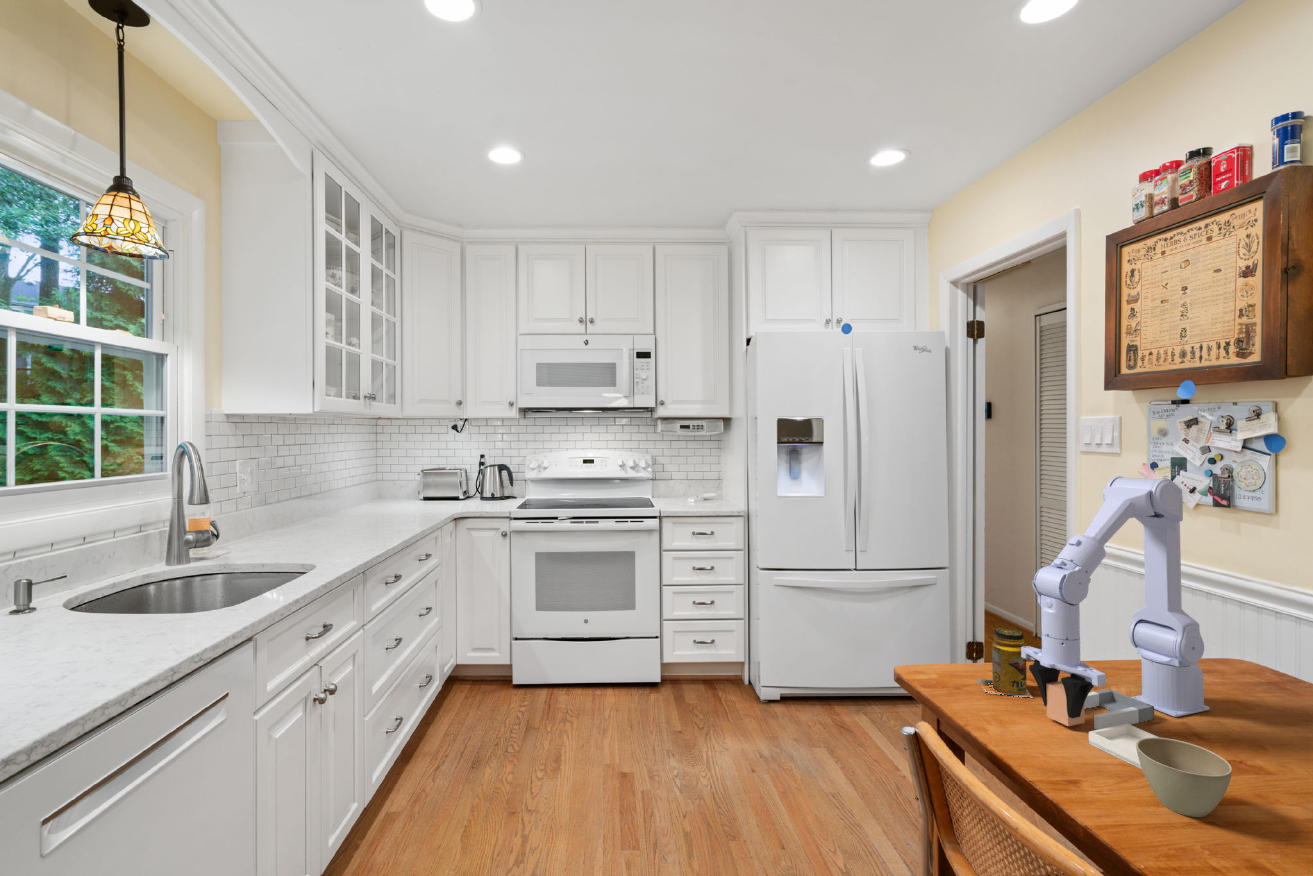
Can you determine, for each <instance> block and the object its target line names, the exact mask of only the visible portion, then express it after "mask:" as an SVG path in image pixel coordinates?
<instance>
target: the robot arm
mask: <svg viewBox="0 0 1313 876" xmlns="http://www.w3.org/2000/svg"><path fill="white" fill-rule="evenodd" d="M1102 498H1103V503H1102V504H1101V506H1100V508H1099V509H1098V511H1097V512H1096V514H1095V516H1093V519H1092V521H1091V522H1090V523H1089V525H1088V527H1087V529H1086V531H1084V533H1083V535H1074V536H1072V537H1071V538H1070V539H1069V540H1068V541H1067V544H1066V545H1065V546H1064V547H1063V549H1062V550H1061V551H1060V553H1059V554H1058V555H1057V556H1056V557H1055V558H1054V560H1053V561H1052V563H1051V564H1050V565H1046V566H1043V567H1041V568H1040V569H1038V570H1037V571H1036V573H1035V575H1034V578H1033V580H1032V581H1031V584H1032V585H1031V586H1032V588H1033V591H1034V592H1035V594H1036V596H1037V603H1038V605H1039V606H1040V608H1041V610H1040V614H1041V615H1040V616H1041V618H1040V619H1041V620H1040V621H1041V625H1040V626H1041V648H1036V647H1033V646H1030V645H1028V646H1027V645H1026V646H1025V647H1021V657H1022V658H1025V659H1026V660H1032V661H1033V664H1030V665H1028V670H1029V672H1030V673H1031V675H1032V677H1034V680H1035V682H1036V684H1037V686H1038V689H1039V693H1040V695H1041V698H1042V702H1043V705H1044V707H1045V708H1047V691H1046V683H1051V682H1057V681H1059V676H1060V674H1061V672H1063V673H1066V674H1068V675H1069V676H1065V677H1061V678H1060V681H1062V684H1063V686H1064V690H1065V694H1066V701H1067V714H1068V717H1070V718H1077V717H1080V715H1081V711H1082V708H1083V705H1084V702H1085V700H1086V698H1087V696H1088V694H1089V692H1092V691H1091V690H1092V689H1093V688H1094V687H1104V686H1107V674H1106V673H1104V672H1102V671H1100V670H1098V669H1096V668H1094V667H1092V666H1090V665H1088V664H1086V663H1085V662H1083V661H1082V660H1081V625H1080V623H1081V617H1080V614H1081V613H1080V604H1081V603H1082V602H1083V601H1084V600H1086V599H1087V596H1088V594H1089V587H1090V583H1091V580H1092V579H1091V577H1092V575H1093V573H1094V572H1095V571H1096V569H1097V568H1098V567H1099V566H1100V564H1101V563H1102V561H1103V560H1105V557H1106V556H1107V553H1106V550H1105V547H1104V546H1105V545H1106V544H1107V543H1108V542H1109V540H1111V538H1112V537H1113V536H1114V535H1115V534H1117V532H1118V531H1119V530H1120V529H1121V528H1122V527H1123V526H1124V525H1125V524H1126V522H1128V520H1129V519H1133V518H1135V519H1136V520H1137V521H1138V522H1139V523H1140V524H1141V525H1142V526H1143V549H1144V551H1143V553H1144V557H1143V558H1144V559H1143V560H1144V599H1145V600H1144V601H1145V604H1144V606H1142V607H1141V608H1139V609H1137V610H1135V611H1133V612H1132V620H1131V621H1132V622H1131V624H1130V627H1129V629H1128V636H1129V637H1128V638H1129V641H1130V644H1132V646H1133V647H1134V648H1135V649H1136V651H1137V653H1136V654H1139V655H1141V657H1140V658H1141V659H1140V660H1141V661H1140V662H1141V695H1139V694H1138V695H1136V696H1131V697H1132V698H1134V699H1137V700H1139V701H1142V702H1145V703H1147V704H1150V705H1152V706H1154V710H1156V711H1159V712H1161V713H1163V714H1166V715H1169V716H1170V717H1171V716H1172V717H1176V718H1178V717H1183V716H1186V715H1191V714H1196V713H1201V712H1206V711H1210V710H1211V709H1210V706H1207V705H1205V698H1204V697H1205V693H1204V692H1205V689H1204V686H1205V684H1204V673H1203V670H1202V669H1201V667H1200V665H1199V664H1198V662H1199V661H1200V660H1201V659H1202V657H1203V656H1204V652H1205V643H1204V640H1203V637H1202V636H1201V631H1200V630H1201V629H1200V623H1199V622H1198V621H1196V620H1195V619H1194V618H1193V617H1192V616H1190V614H1188V613H1186V612H1185V611H1184V610H1183V608H1182V569H1181V567H1182V565H1181V564H1182V563H1181V560H1182V559H1181V557H1182V556H1181V522H1183V521H1184V512H1183V511H1184V509H1183V508H1184V507H1183V501H1184V500H1183V489H1182V488H1181V487H1180V486H1179V485H1177V483H1175V482H1174V481H1173V480H1172V479H1169V478H1160V479H1159V478H1142V477H1141V478H1140V477H1124V476H1120V475H1117V476H1114V477H1112V478H1111V479H1110V480H1109V481H1108V483H1107V485H1106V487H1105V488H1103V490H1102Z"/></svg>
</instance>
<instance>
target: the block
mask: <svg viewBox="0 0 1313 876" xmlns="http://www.w3.org/2000/svg"><path fill="white" fill-rule="evenodd" d="M1046 691H1047V707H1046V717H1048V718H1050V719H1051V720H1054V721H1055V722H1058V723H1059V724H1060V723H1061V724H1062V725H1064V726H1067V727H1072V726H1077V725H1081V724H1082V725H1083V724H1085V722H1086V716H1085V715H1086V714H1085V712H1086V709H1085V702H1084V705H1083V708H1082V711H1081V715H1080V717H1077V718H1070V717H1068V714H1067V701H1066V694H1065V690H1064V686H1063V684H1062V681H1061V680H1058V681H1057V682H1051V683H1046Z"/></svg>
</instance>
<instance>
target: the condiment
mask: <svg viewBox="0 0 1313 876" xmlns="http://www.w3.org/2000/svg"><path fill="white" fill-rule="evenodd" d="M1024 638H1025V636H1024V633H1023V632H1022V631H1020V630H1019V629H1015V628H1008V627H998V628H995V629H994V630H993V641H992V643H991V657H992V658H991V662H992V666H991V667H992V671H991V672H992V674H991V675H992V679H984V678H977V681H978V683H979V685H980V686H981V689H982V691H983V692H984V693H985V692H988V693H987V694H991V695H998V696H999V695H1000V694H1002V693H1003V694H1002V695H1003V696H1005V695H1004V694H1009V695H1027V694H1028V695H1030V696H1029V697H1030V698H1029V699H1034V697H1033V696H1032V694H1031V693H1030V692H1029V690H1028V689H1027V686H1028V685H1027V684H1028V683H1027V681H1028V680H1027V679H1028V678H1027V677H1028V676H1027V674H1028V673H1027V671H1028V670H1027V659H1025V658H1022V657H1021V647H1026V646H1025V645H1024V644H1025V641H1024ZM988 683H990V684H988ZM991 683H993V684H991ZM989 685H993V688H994V689H995V690H997V691H996V692H1002V693H995V691H994V690H993V691H986V689H985V688H986V687H982V686H989ZM983 688H984V689H983ZM989 688H992V687H989ZM984 690H985V691H984ZM987 690H990V689H987ZM1026 690H1027V691H1026ZM989 692H990V693H989ZM991 692H992V693H991ZM1000 696H1001V695H1000ZM1015 697H1017V698H1022V697H1027V696H1019V697H1018V696H1014V698H1015Z"/></svg>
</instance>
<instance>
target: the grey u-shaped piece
mask: <svg viewBox="0 0 1313 876" xmlns="http://www.w3.org/2000/svg"><path fill="white" fill-rule="evenodd" d="M1094 692H1096V693H1098V694H1099V707H1100V706H1101V707H1100V708H1102V707H1103V708H1102V709H1104V708H1106V709H1105V710H1107V711H1109V710H1110V711H1109V712H1111V711H1116V710H1121V709H1125V708H1130V707H1134V708H1136V709H1138V715H1139V722H1140V723H1145V722H1149V721H1153V719H1154V720H1155V709H1154V706H1152V705H1150V704H1147V703H1145V702H1142V701H1139V700H1137V699H1134V698H1132V697H1133V696H1128V695H1127V694H1123V693H1121V692H1118V691H1116V690H1113V689H1110V688H1107V689H1101V690H1096V691H1094ZM1148 720H1149V721H1148ZM1144 721H1145V722H1144Z"/></svg>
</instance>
